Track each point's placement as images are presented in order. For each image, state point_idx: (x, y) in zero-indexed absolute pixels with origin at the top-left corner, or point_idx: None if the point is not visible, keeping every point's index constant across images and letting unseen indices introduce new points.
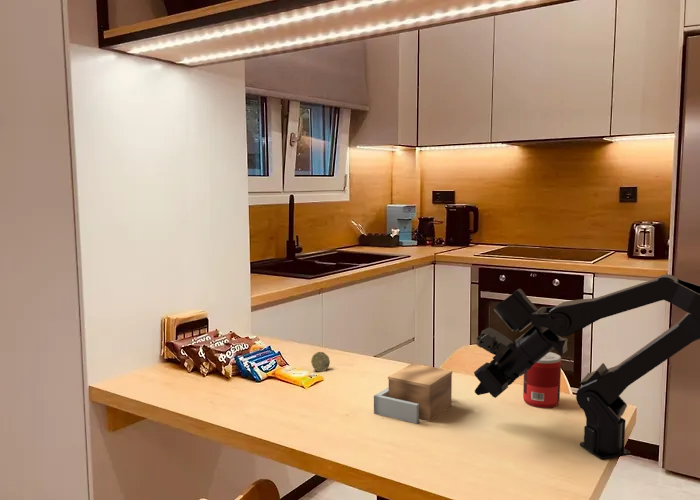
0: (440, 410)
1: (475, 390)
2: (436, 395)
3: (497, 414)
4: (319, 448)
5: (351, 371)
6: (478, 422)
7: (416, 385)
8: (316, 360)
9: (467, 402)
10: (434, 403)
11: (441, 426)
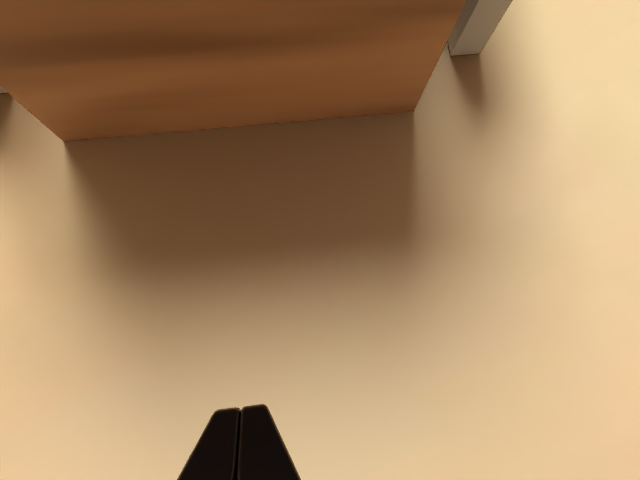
0: (235, 115)
1: (205, 432)
2: (118, 43)
3: (490, 458)
4: None
5: None
6: None
7: None
8: None
9: (539, 169)
10: (100, 80)
11: (35, 244)
